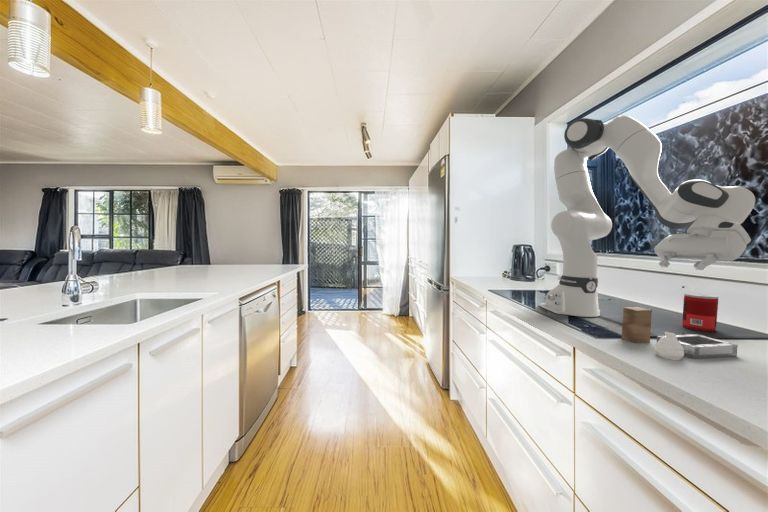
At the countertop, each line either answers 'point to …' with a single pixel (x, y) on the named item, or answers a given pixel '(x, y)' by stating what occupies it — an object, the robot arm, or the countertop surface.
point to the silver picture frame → (705, 346)
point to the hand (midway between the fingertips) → (679, 267)
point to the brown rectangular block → (636, 324)
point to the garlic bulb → (669, 347)
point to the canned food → (700, 311)
